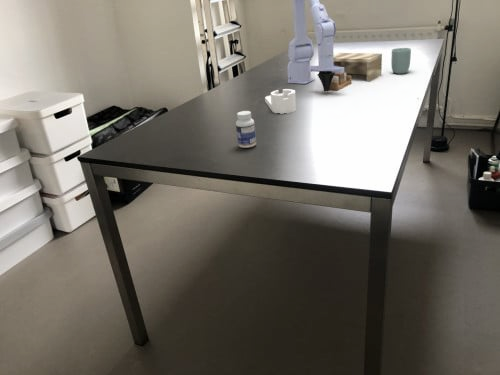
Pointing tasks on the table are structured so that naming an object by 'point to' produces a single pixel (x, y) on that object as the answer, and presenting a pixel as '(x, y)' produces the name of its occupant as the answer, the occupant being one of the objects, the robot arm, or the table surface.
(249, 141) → the pill bottle
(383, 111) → the table surface
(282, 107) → the bracket
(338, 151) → the table surface
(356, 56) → the wooden crate
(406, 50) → the cup
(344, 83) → the caddy
